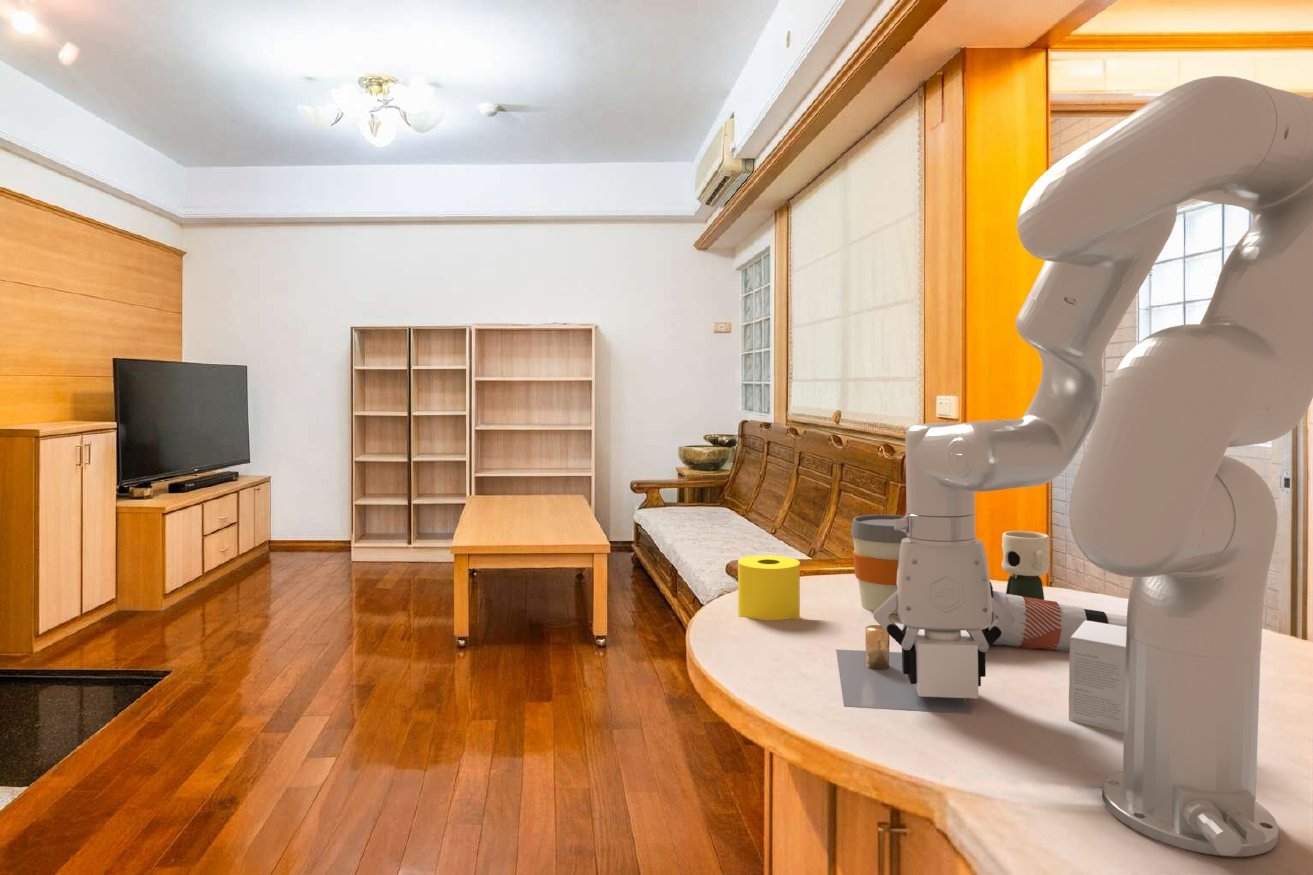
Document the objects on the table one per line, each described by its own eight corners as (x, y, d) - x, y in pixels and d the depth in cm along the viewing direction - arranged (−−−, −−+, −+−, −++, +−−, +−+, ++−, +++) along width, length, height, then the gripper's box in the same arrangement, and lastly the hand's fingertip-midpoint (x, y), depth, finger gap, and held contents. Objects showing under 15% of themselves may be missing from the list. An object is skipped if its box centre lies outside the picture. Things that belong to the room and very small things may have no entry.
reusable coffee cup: (844, 596, 142) (844, 514, 141) (914, 596, 141) (915, 514, 140) (859, 616, 129) (859, 526, 128) (936, 616, 129) (937, 526, 128)
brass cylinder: (890, 670, 101) (890, 632, 100) (866, 669, 101) (866, 631, 101) (887, 662, 104) (888, 625, 103) (864, 661, 104) (864, 624, 104)
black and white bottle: (1173, 700, 105) (1197, 645, 99) (907, 655, 113) (917, 602, 108) (1153, 645, 113) (1175, 592, 108) (907, 607, 121) (916, 556, 116)
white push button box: (978, 698, 88) (977, 636, 88) (919, 696, 89) (917, 635, 89) (966, 679, 94) (965, 621, 94) (911, 677, 95) (910, 620, 95)
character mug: (988, 603, 136) (989, 529, 136) (1029, 602, 137) (1030, 528, 136) (1019, 621, 126) (1020, 541, 125) (1063, 620, 126) (1064, 540, 125)
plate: (972, 724, 87) (973, 713, 87) (843, 716, 90) (843, 705, 90) (941, 662, 107) (941, 654, 107) (836, 657, 109) (836, 649, 109)
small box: (1082, 707, 92) (1083, 618, 91) (1137, 719, 88) (1140, 627, 87) (1066, 730, 85) (1068, 636, 85) (1125, 745, 82) (1128, 646, 81)
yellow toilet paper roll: (785, 631, 122) (785, 571, 121) (728, 621, 127) (727, 564, 127) (808, 615, 130) (808, 559, 130) (753, 607, 136) (753, 553, 135)
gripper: (866, 533, 89) (869, 689, 90) (1029, 533, 86) (1031, 695, 86) (861, 524, 96) (864, 668, 97) (1011, 524, 93) (1013, 673, 94)
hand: (943, 679), depth 92 cm, fingers closed on white push button box, 6 cm apart
